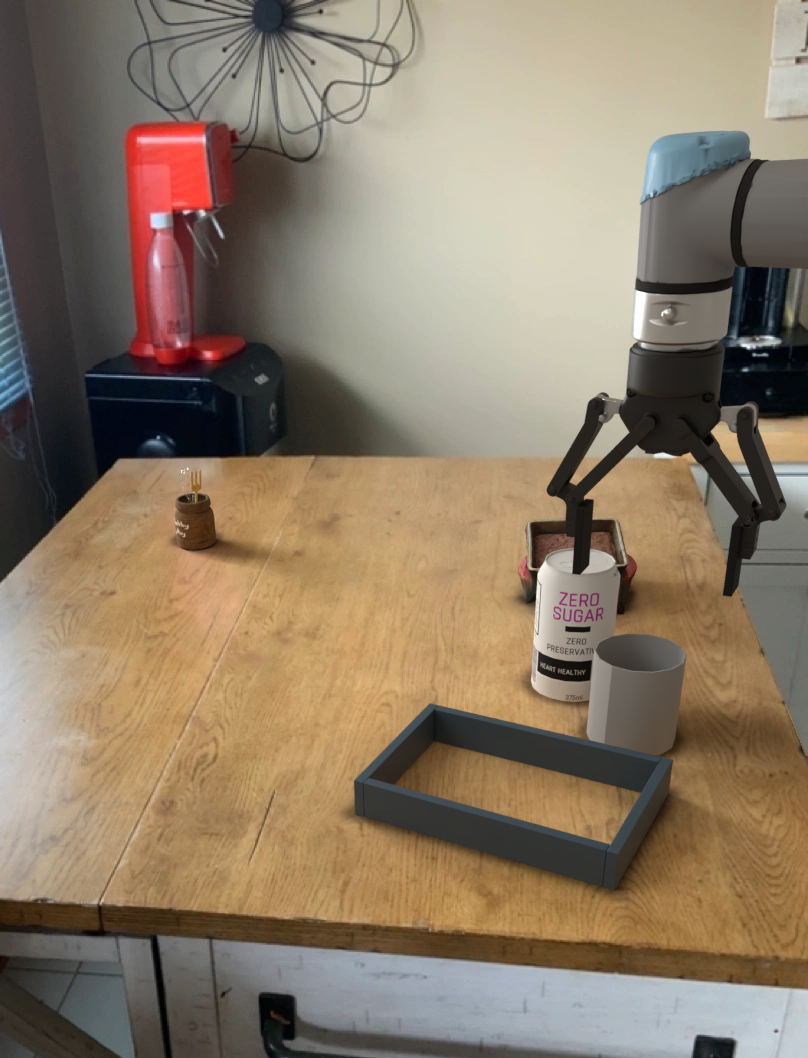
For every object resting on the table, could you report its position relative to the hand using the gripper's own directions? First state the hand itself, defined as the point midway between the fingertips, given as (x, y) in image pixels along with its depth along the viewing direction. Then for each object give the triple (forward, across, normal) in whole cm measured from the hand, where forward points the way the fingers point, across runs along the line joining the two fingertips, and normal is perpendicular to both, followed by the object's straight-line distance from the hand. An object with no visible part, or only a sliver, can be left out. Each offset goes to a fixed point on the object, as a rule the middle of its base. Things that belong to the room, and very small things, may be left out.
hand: (653, 580), depth 104 cm
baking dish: (+17, -18, +33) cm, 41 cm away
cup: (+18, -1, 0) cm, 18 cm away
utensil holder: (+16, -74, +28) cm, 80 cm away
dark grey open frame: (+17, -7, -16) cm, 25 cm away
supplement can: (+18, -10, +8) cm, 22 cm away
